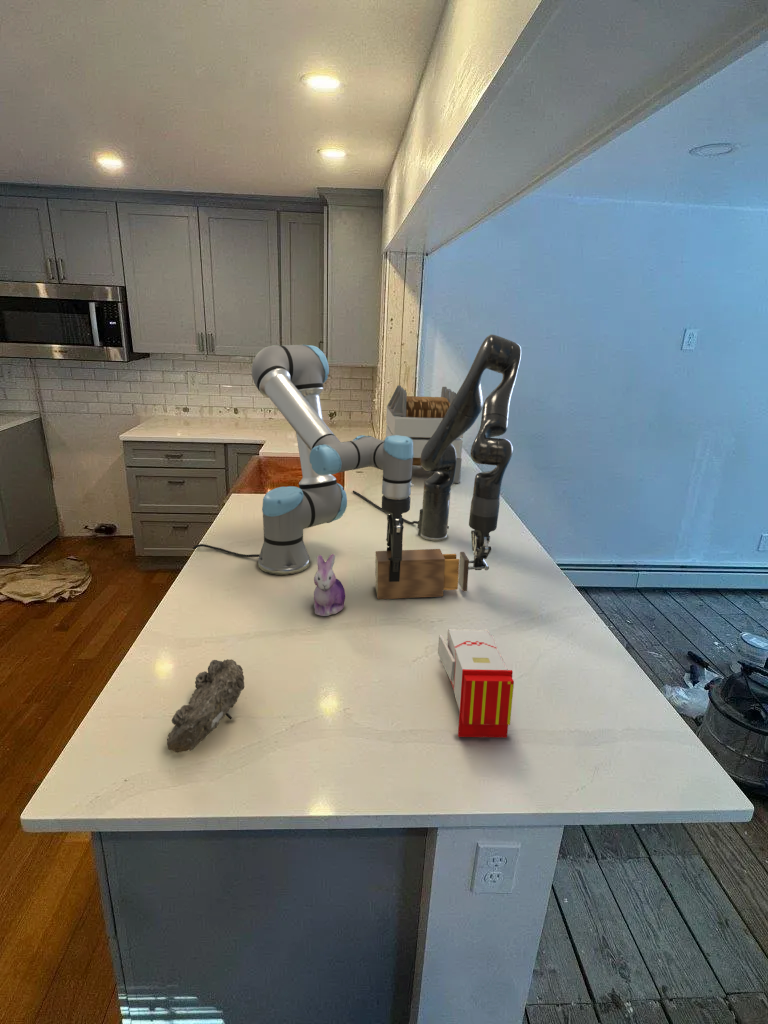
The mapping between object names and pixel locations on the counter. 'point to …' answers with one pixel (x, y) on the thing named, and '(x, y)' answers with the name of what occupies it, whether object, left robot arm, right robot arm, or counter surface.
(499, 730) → the toy
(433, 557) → the cabinet
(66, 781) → the counter surface
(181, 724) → the fossil
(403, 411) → the grey crate with legs
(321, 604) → the figurine
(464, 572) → the drawer
